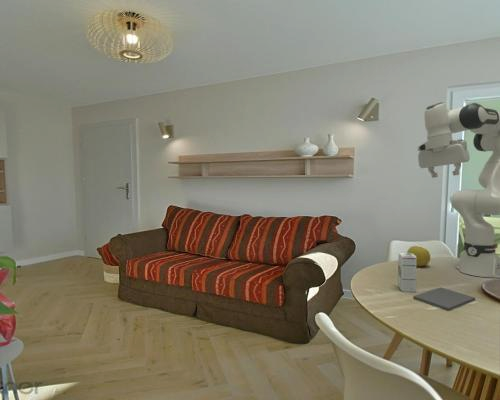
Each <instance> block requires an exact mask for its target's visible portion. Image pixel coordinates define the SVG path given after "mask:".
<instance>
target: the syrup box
mask: <svg viewBox="0 0 500 400" xmlns="http://www.w3.org/2000/svg"><path fill="white" fill-rule="evenodd" d="M416 259H417V257H416V256H415V255H414V254H413V253H407V252H399V253H398V262H397V263H398V267H397V268H398V271H397V272H398V274H397V277H398V278H397V286H398V289H399V290H400V291H401V292H409V293H410V292H413V293H417V266H416Z"/></svg>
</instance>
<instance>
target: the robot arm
mask: <svg viewBox="0 0 500 400" xmlns="http://www.w3.org/2000/svg"><path fill="white" fill-rule="evenodd" d="M424 125H425V129H426V132H427V136H426V139H427V141H425V142H424V143H422V144H420V145H419V146H418V147H417V151H418V156H417V158H418V166H419V167H420V168H421V169H426V168H427V170H428V172H429V174H430V175H431V178H433V179H435V178H438V177H439V176H438V172H435V167H442V166H447V165H448V166H449V165H453V167H454V170H453V171H452V175H453V176H459V175H460V169H461V167H462V163H467V162H469V161H470V159H471V157H470V153H469V149H468V145H467V141H466V140H464V139H462V138H459V139H453V134H456V133H460V132H465V131H470V132H471V133H473V134H475V135H474V136H473V142H472V144H473V147H474V148H475V149H476V150H477V151H479V152H492V154H491V156H490V157H489V158H488V159H487V160H486V162H485V164H484V166H483V168H482V170H481V171H480V173H479V175H478V179H477V180H478V184H479V185H480V186H481V187H482V188H484V189H460V190H456V191H455V192H454V193H452V195H451V199H450V205H451V207H452V209H454V210H455V211H456V212H458V214H459V215H460V216H461V218H462V221H463V223H464V231H465V232H464V233H465V235H464V241H463V251H461V252H460V256H459V263H458V265H456V269H457V270H459V271H460V272H461V273H463V274H465V275H466V274H467V275H470V276H473V277H474V276H475V277H482V278H494V279H500V256H499V255H498V254H497V253H496V252H497V251H496V250H497V248H498V247H499V244H498V243H495V241H494V240H495V227H494V226H493V225H492V224H491V223H489V222H488V221H486V220H485V218H484V217H483V215H489V216H500V111H499V110H496V109H493V108H488V107H487V108H486V107H484V106H483V105H481V104H480V103H477V102H472V103H470V104H466V105H464V106H461V107H457V108H454V109H450V108H448V107H447V104H446V102H444V101H443V102H441V101H440V102H438V103H434V104H432V105H428V106H427V107H426V108H425V110H424Z"/></svg>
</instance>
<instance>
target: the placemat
mask: <svg viewBox="0 0 500 400" xmlns="http://www.w3.org/2000/svg"><path fill="white" fill-rule="evenodd" d="M412 297H413V300H417V301H419V302H422V303H424V304H428V305H431V306H432V307H433V306H434V307H436V308H439V309H442V310H445V311H452V310H454V309H457V308H459V307H463V306H464V305H467V304H470V303H472V302H475V301H476V297H474V296H472V295H471V296H470V295H468V294H464V293H461V292H458V291H454V290H451V289H448V288H444V287H437V288H433V289H431V290H428V291H424V292H422V293H419V294H416V295H413V296H412Z"/></svg>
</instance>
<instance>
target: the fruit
mask: <svg viewBox="0 0 500 400" xmlns="http://www.w3.org/2000/svg"><path fill="white" fill-rule="evenodd" d="M406 253H413V254H414V255H415V256H416V257H417V259H416V267H423V266H426V265H428V264H429V263H430V261H431V254H430V251H429V250H428V249H427V248H424V247H422V246H417V245H413V246H410V247H409V248H408V250H407V252H406Z"/></svg>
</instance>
